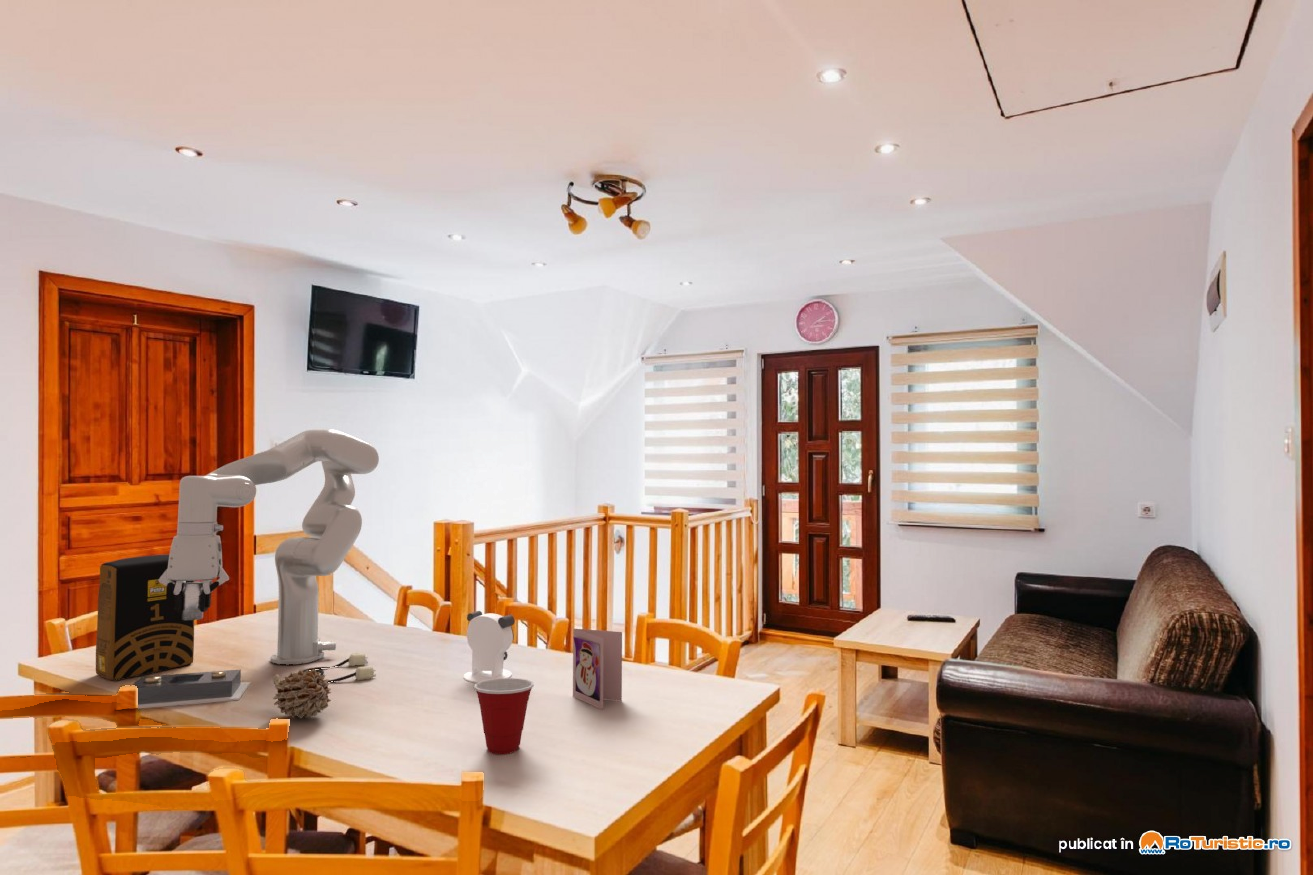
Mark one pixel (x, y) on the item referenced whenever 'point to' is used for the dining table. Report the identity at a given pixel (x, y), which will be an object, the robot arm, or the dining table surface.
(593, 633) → the greeting card
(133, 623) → the black product box
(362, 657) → the cable
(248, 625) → the dining table surface
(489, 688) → the plastic cup
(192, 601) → the pin
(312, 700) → the pine cone
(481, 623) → the panda figurine
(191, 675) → the gray slotted block
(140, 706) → the mat
